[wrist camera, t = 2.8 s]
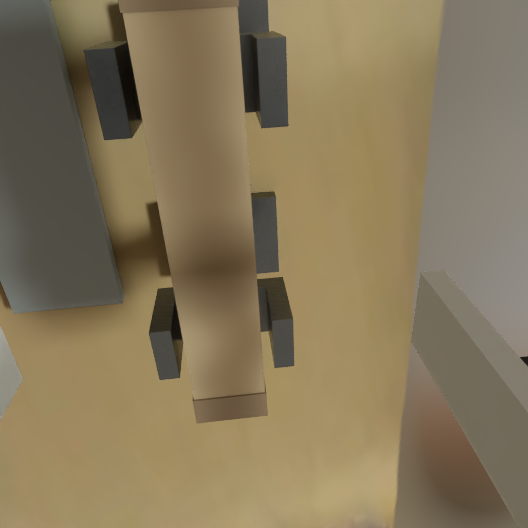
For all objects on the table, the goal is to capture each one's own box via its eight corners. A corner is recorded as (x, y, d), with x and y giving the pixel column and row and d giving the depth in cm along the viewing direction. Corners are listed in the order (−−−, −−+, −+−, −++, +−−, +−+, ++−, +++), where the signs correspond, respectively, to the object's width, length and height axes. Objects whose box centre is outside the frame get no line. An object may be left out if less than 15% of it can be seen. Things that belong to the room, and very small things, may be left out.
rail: (199, 372, 26) (196, 423, 23) (129, -39, 16) (108, -50, 13) (261, 366, 27) (267, 415, 23) (231, -45, 17) (234, -57, 13)
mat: (-111, -18, 24) (-123, -19, 23) (43, -26, 24) (36, -27, 23) (18, 305, 34) (13, 313, 34) (124, 295, 35) (122, 303, 34)
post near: (143, 112, 28) (97, 180, 17) (123, 1, 25) (52, -2, 14) (270, 102, 29) (304, 163, 18) (265, -7, 26) (302, -17, 15)
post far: (173, 274, 34) (152, 402, 23) (160, 201, 31) (129, 308, 20) (277, 264, 35) (305, 385, 24) (274, 191, 32) (305, 291, 21)
